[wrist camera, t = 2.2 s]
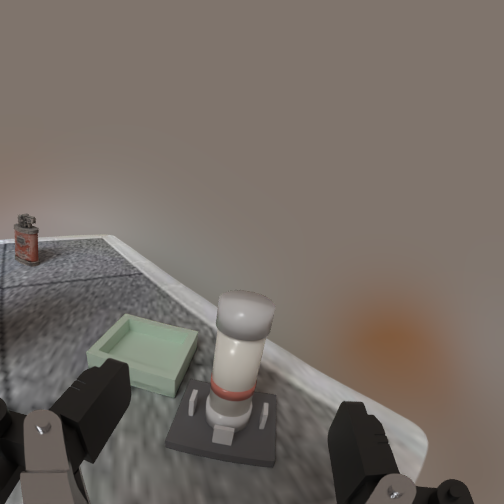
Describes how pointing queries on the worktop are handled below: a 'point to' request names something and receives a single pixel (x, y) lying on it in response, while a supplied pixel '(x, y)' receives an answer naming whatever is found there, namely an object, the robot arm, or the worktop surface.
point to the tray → (147, 352)
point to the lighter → (26, 241)
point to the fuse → (237, 356)
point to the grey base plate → (224, 430)
